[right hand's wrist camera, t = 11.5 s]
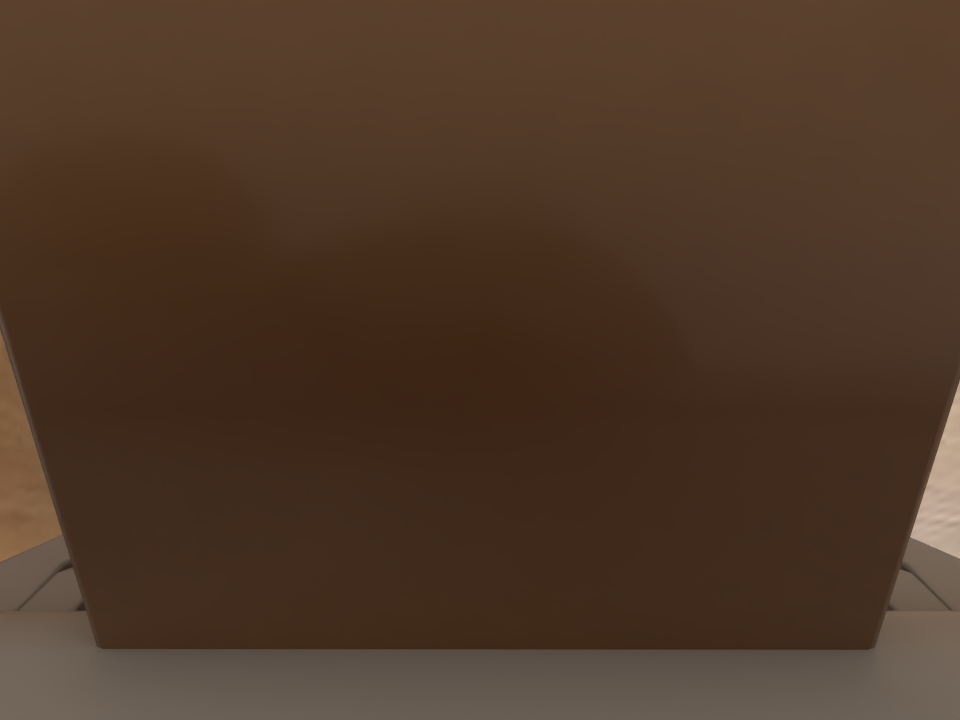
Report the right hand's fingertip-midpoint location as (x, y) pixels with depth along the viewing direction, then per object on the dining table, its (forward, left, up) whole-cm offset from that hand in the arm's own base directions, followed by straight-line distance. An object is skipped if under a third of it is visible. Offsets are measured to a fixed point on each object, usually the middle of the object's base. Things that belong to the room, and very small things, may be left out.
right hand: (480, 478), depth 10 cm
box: (+3, +8, -5) cm, 10 cm away
